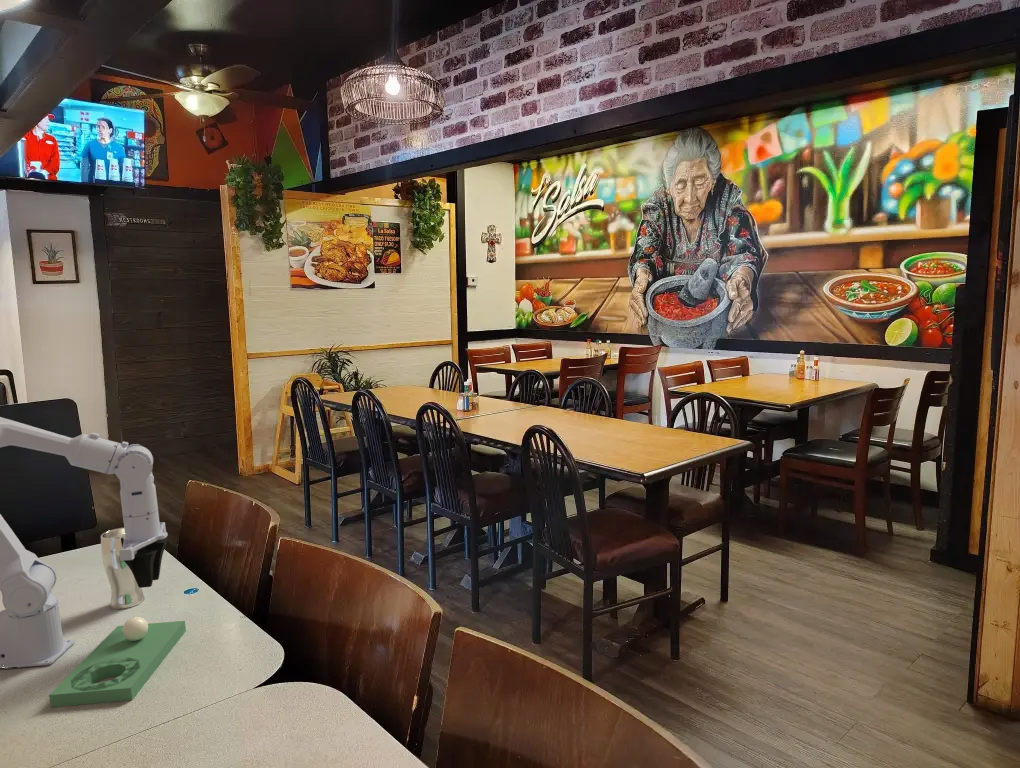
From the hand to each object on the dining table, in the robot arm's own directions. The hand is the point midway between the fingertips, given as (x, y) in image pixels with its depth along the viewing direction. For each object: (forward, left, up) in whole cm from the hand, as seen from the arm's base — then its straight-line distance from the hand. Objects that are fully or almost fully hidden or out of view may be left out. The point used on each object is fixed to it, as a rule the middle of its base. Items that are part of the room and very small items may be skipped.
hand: (149, 583), depth 127 cm
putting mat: (0, -12, -9) cm, 15 cm away
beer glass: (-11, +14, -10) cm, 20 cm away
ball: (0, -7, -5) cm, 9 cm away
